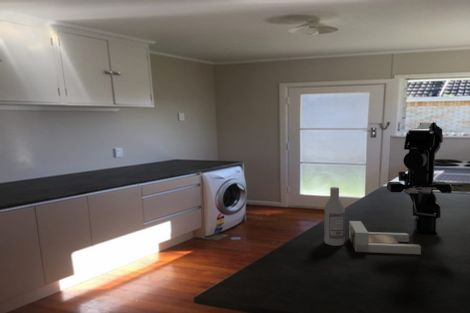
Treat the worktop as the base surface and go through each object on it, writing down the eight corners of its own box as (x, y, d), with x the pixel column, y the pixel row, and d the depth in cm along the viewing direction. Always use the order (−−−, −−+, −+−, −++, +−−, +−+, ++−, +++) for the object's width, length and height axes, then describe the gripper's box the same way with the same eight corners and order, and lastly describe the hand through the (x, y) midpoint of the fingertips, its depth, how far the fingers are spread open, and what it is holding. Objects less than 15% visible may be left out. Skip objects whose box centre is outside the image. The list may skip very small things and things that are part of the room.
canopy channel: (406, 240, 125) (407, 222, 125) (420, 254, 111) (421, 234, 111) (349, 238, 129) (349, 220, 128) (355, 251, 115) (356, 232, 114)
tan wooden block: (391, 243, 123) (391, 235, 123) (398, 251, 115) (398, 243, 115) (353, 242, 125) (353, 234, 125) (357, 250, 117) (357, 241, 117)
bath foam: (348, 244, 122) (349, 188, 120) (333, 247, 119) (333, 190, 117) (335, 238, 128) (335, 185, 127) (320, 241, 125) (320, 187, 124)
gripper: (439, 163, 122) (437, 207, 123) (383, 163, 125) (382, 206, 127) (453, 167, 111) (451, 215, 112) (391, 167, 114) (390, 214, 116)
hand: (417, 212), depth 117 cm, fingers closed
